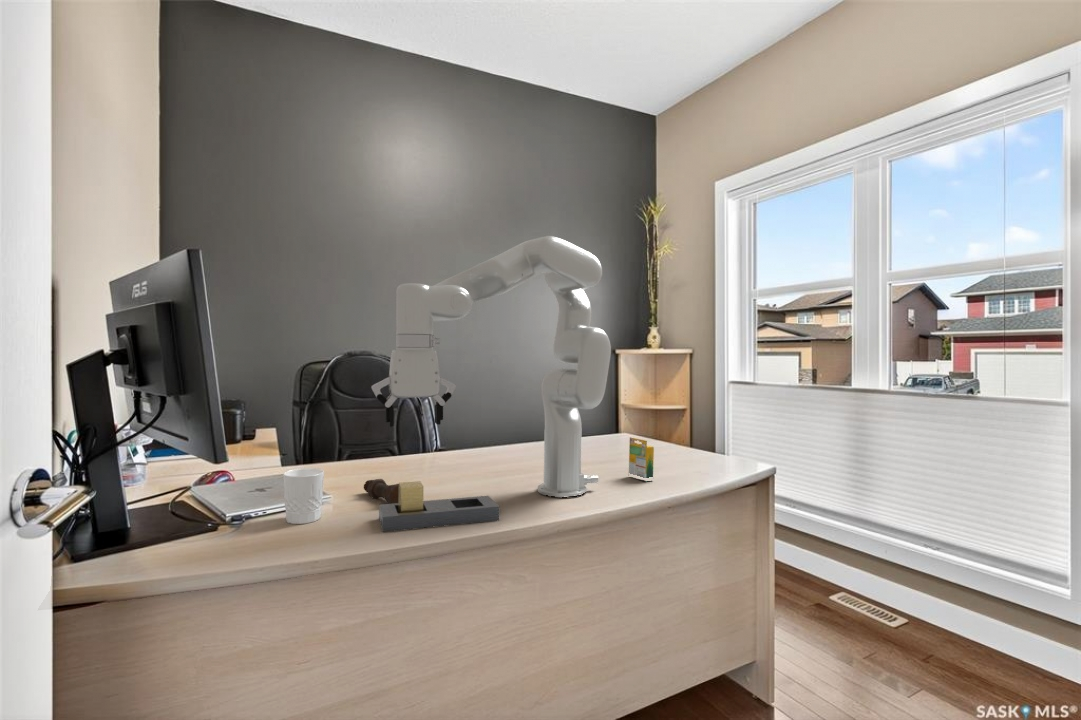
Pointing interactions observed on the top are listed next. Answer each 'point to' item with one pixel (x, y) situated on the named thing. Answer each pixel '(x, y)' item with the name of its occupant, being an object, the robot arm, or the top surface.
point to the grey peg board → (440, 513)
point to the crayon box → (641, 458)
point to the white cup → (303, 495)
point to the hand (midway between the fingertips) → (414, 424)
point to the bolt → (382, 490)
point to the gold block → (410, 497)
